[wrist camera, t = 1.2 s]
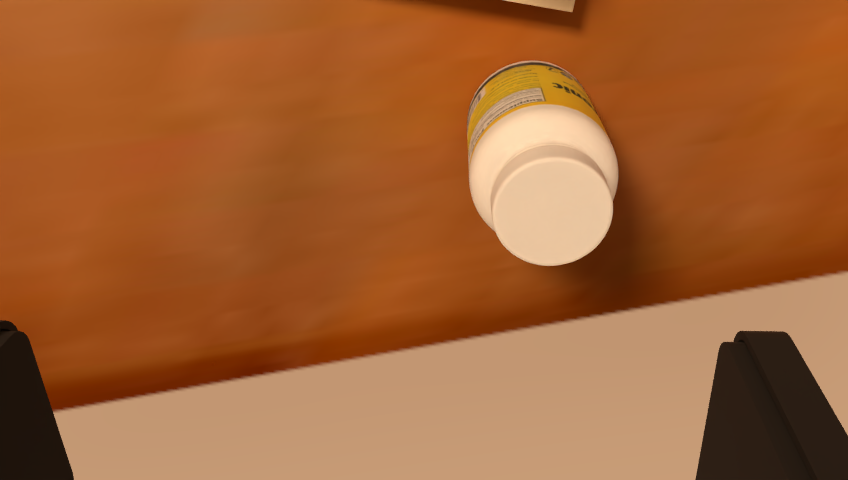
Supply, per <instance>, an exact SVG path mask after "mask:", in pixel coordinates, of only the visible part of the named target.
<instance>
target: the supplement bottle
mask: <svg viewBox="0 0 848 480" xmlns="http://www.w3.org/2000/svg"><path fill="white" fill-rule="evenodd" d="M467 141H468V162H469V184H470V190H471V195H472V199H473V202H474V205H475V207H476V209H477V211H478V213H479V214H480V216H481V217H482V219H483V220H484V221H485V222H486V223H487V225H488V226H489V227H490V228H491V229H493V230H494V231H495V232H496V234H497V236H498V238H499V240H500V241H501V243H502V244H503V245H504V246H505V247H506V249H507V250H509V251H510V252H511V253H512V254H514V255H515V256H516V257H518V258H520V259H522V260H524V261H526V262H529V263H533V264H537V265H542V266H556V265H562V264H567V263H570V262H574V261H576V260H578V259H580V258H582V257H584V256H585V255H587V254H588V253H590V252H591V251H592V250H593V249H595V248H596V247H597V246H598V245H599V243H600V242H601V241H602V240H603V238H604V237H605V235H606V233H607V231H608V230H609V227H610V224H611V221H612V216H613V199H614V196H615V193H616V190H617V185H618V163H617V158H616V155H615V152H614V149H613V146H612V143H611V141H610V139H609V137H608V135H607V133H606V131H605V129H604V127H603V125H602V123H601V121H600V118H599V117H598V115H597V113H596V111H595V109H594V107H593V105H592V103H591V101H590V99H589V97H588V95H587V93H586V92H585V90H584V88H583V87H582V85H581V84H580V83H579V82H578V80H577V79H576V78H575V77H574V76H573V75H571V74H570V73H569V72H568V71H566V70H565V69H563V68H561V67H559V66H557V65H554V64H551V63H548V62H543V61H521V62H517V63H513V64H510V65H507V66H505V67H503V68H501V69H499V70H498V71H496V72H495V73H493V74H492V75H491V76H489V77H488V78H487V79H486V80H485V81H484V82H483V83H482V84H481V86H480V87H479V88H478V90H477V91H476V93H475V95H474V97H473V99H472V101H471V104H470V107H469V112H468V118H467Z"/></svg>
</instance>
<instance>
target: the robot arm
mask: <svg viewBox="0 0 848 480" xmlns="http://www.w3.org/2000/svg"><path fill="white" fill-rule="evenodd" d="M0 480H74V478H73V472H72V469H71V466H70V464H69V460H68V457H67V454H66V451H65V448H64V445H63V442H62V439H61V436H60V433H59V430H58V427H57V424H56V420H55V418H54V414H53V411H52V408H51V405H50V402H49V399H48V396H47V393H46V390H45V387H44V384H43V381H42V378H41V375H40V372H39V369H38V366H37V362H36V359H35V356H34V353H33V350H32V347H31V344H30V341H29V339H28V337H27V335H26V334H25V333H24V332H20V331H18V330H17V328H16V326H15V325H14V324H13V323H12V322H9V321H2V320H0ZM696 480H848V435H847V434H846V432H845V430H844V428H843V427H842V425H841V423H840V422H839V420H838V418H837V416H836V415H835V413H834V411H833V409H832V408H831V406H830V405H829V403H828V401H827V399H826V398H825V396H824V394H823V392H822V390H821V389H820V387H819V386H818V384H817V382H816V380H815V378H814V377H813V375H812V373H811V371H810V370H809V368H808V366H807V365H806V363H805V361H804V360H803V358H802V356H801V354H800V353H799V351H798V349H797V347H796V346H795V344H794V342H793V341H792V339H791V337H790V336H789V335H788V334H787V333H785V332H774V331H773V332H772V331H769V332H768V331H740V332H738V333H737V334H736V336H735V338H734V342H723V343H722V344H721V346H720V348H719V352H718V358H717V364H716V369H715V374H714V380H713V386H712V392H711V397H710V402H709V408H708V414H707V419H706V425H705V430H704V436H703V442H702V447H701V452H700V458H699V464H698V469H697V475H696Z"/></svg>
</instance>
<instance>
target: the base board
mask: <svg viewBox="0 0 848 480" xmlns="http://www.w3.org/2000/svg"><path fill="white" fill-rule="evenodd" d="M504 1H510V2H516V3H522V4H528V5H533V6H539V7H545V8H551V9H556V10H562V11H568V12H573V7H574V3H575V0H504Z"/></svg>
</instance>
